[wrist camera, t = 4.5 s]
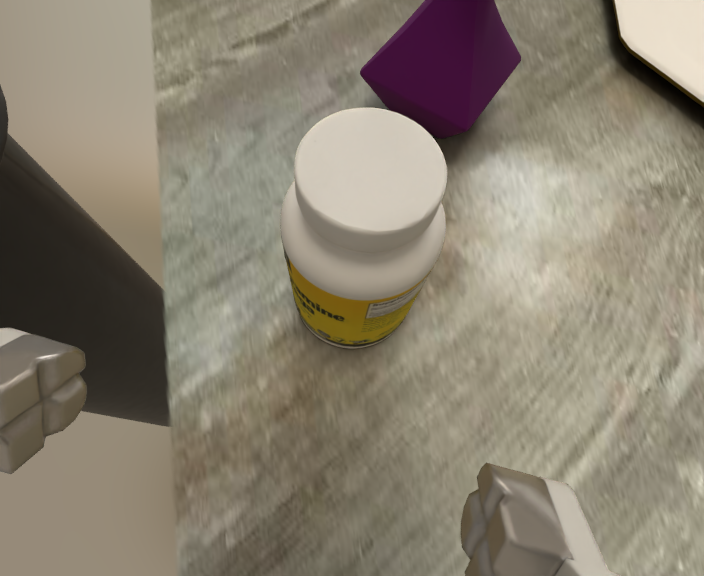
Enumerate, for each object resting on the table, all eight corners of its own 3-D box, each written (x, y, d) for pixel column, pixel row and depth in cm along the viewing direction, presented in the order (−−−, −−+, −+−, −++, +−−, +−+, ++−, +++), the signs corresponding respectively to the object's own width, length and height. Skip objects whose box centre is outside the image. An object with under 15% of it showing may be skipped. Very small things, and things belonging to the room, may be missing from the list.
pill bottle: (275, 276, 23) (231, 128, 12) (370, 230, 24) (401, 63, 14) (330, 374, 21) (331, 294, 10) (429, 317, 22) (515, 198, 12)
